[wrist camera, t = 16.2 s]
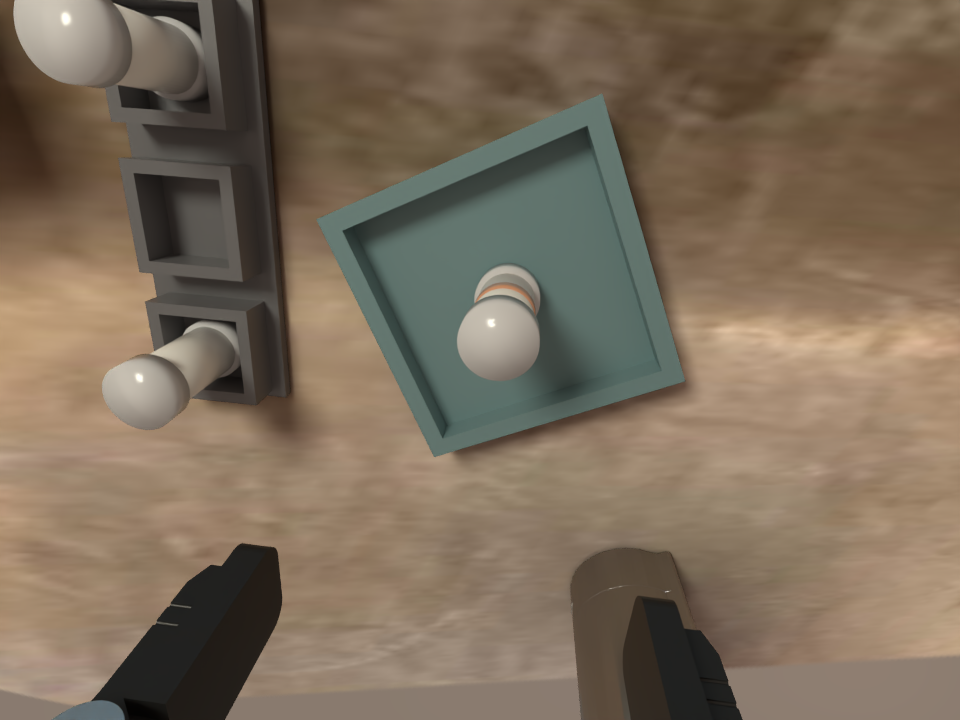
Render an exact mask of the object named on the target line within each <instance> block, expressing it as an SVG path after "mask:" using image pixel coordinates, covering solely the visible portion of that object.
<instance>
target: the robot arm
mask: <svg viewBox="0 0 960 720" xmlns="http://www.w3.org/2000/svg"><path fill="white" fill-rule="evenodd" d="M281 606H282V590H281V580H280V571H279V561H278V553H277V550H276V548H274V547H267V546H259V545H251V544H243V543H242V544H240V545H238V546H237V547H236V548H235V549H234V550H233V552H232V553H231V555H230V556H229V557H228V559H227V560H226V561H225V563H224V564H223V565H222V566H216V565H210V566H209V567H207V568H206V569H205V570H203V571H202V572H200V573H199V574H198V575H196V576H195V577H193V578H192V579H191V580H189V581H188V582H187V583H186V584H185V586H184V587H183V588H182V589H181V591H180V592H179V593H178V594H177V596H176V597H175V598H174V599H173V601H172V602H171V605H170V607H167V608H166V609H165V611H164V612H163V613H162V614H161V616H160V617H159V618H158V619H157V622H156V624H155V625H153V626H152V627H151V628H150V629H149V631H148V632H147V633H146V634H145V636H144V637H143V638H142V639H141V641H140V642H139V643H138V644H137V646H136V647H135V648H134V649H133V651H132V652H131V653H130V654H129V656H128V657H127V658H126V659H125V661H124V662H123V663H122V664H121V666H120V667H119V668H118V669H117V671H116V672H115V673H114V674H113V676H112V677H111V678H110V679H109V681H108V682H107V683H106V684H105V686H104V687H103V688H102V689H101V691H100V692H99V693H98V694H97V695H96V696H95V697H94V699H92V700H91V701H90V702H86V703H82V704H79V705H77V706H74V707H72V708H70V709H68V710H66V711H64V712H63V713H61V714H59V715H58V716H56V717H55V718H53V719H52V720H225V718H226V716H227V715H228V713H229V711H230V709H231V707H232V706H233V703H234V701H235V700H236V698H237V696H238V694H239V693H240V691H241V689H242V687H243V685H244V683H245V682H246V680H247V678H248V676H249V674H250V672H251V670H252V669H253V667H254V665H255V663H256V661H257V659H258V658H259V656H260V654H261V652H262V650H263V648H264V646H265V645H266V643H267V641H268V639H269V637H270V635H271V634H272V632H273V630H274V628H275V626H276V624H277V621H278V618H279V615H280V611H281ZM571 613H572V618H573V629H574V641H575V653H576V665H577V677H578V688H579V701H580V713H581V720H742V717H741V714H740V712H739V709H737V707H736V701H735V698H734V695H733V692H732V690H731V687H730V686H729V685H728V679H727V676H726V673H725V670H724V668H723V665H722V662H721V659H720V657H719V654H718V653H717V652H716V650H715V649H714V648H713V646H712V645H711V644H710V643H709V641H708V640H707V639H706V637H705V636H704V635H703V633H702V632H701V631H699V630H696V627H695V624H694V621H693V618H692V615H691V612H690V609H689V606H688V603H687V600H686V597H685V594H684V591H683V588H682V585H681V583H680V580H679V577H678V574H677V571H676V568H675V565H674V562H673V559H672V556H671V554H670V552H663V553H657V554H655V553H650V552H647V551H643V550H639V549H630V548H624V549H613V550H609V551H605V552H602V553H599V554H597V555H595V556H593V557H591V558H590V559H588V560H587V561H585V562H584V563H583V564H582V565H581V566H580V567H579V568H578V569H577V571H576V573H575V574H574V576H573V578H572V582H571Z"/></svg>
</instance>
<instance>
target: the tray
mask: <svg viewBox="0 0 960 720" xmlns="http://www.w3.org/2000/svg"><path fill="white" fill-rule="evenodd" d="M316 220H317V222H318V224H319V226H320V228H321V230H322V232H323V234H324V236H325V238H326V240H327V242H328V244H329V246H330V248H331V250H332V252H333V254H334V256H335V258H336V260H337V262H338V264H339V266H340V268H341V270H342V272H343V274H344V276H345V278H346V280H347V282H348V284H349V286H350V288H351V290H352V292H353V294H354V296H355V298H356V300H357V302H358V304H359V306H360V308H361V310H362V312H363V314H364V316H365V318H366V320H367V322H368V324H369V326H370V329H371V331H372V333H373V335H374V337H375V339H376V341H377V343H378V345H379V347H380V349H381V351H382V353H383V355H384V357H385V359H386V361H387V363H388V365H389V367H390V369H391V371H392V373H393V375H394V377H395V379H396V381H397V383H398V385H399V387H400V389H401V391H402V393H403V395H404V397H405V399H406V401H407V403H408V405H409V407H410V409H411V411H412V413H413V415H414V417H415V419H416V421H417V423H418V425H419V427H420V429H421V431H422V433H423V435H424V437H425V439H426V441H427V443H428V445H429V447H430V449H431V452H432V454H433V456H434V457H436V456H439V455H443V454H446V453H449V452H453V451H456V450H459V449H463V448H466V447H469V446H473V445H476V444H479V443H482V442H486V441H489V440H492V439H496V438H499V437H502V436H506V435H509V434H512V433H516V432H519V431H522V430H526V429H529V428H532V427H536V426H539V425H542V424H545V423H549V422H552V421H555V420H559V419H562V418H565V417H569V416H572V415H575V414H579V413H582V412H585V411H589V410H592V409H595V408H598V407H602V406H605V405H608V404H612V403H615V402H618V401H622V400H625V399H628V398H632V397H635V396H638V395H642V394H645V393H648V392H652V391H655V390H658V389H661V388H665V387H668V386H671V385H675V384H678V383H681V382H685V379H684V375H683V372H682V368H681V365H680V361H679V358H678V354H677V351H676V347H675V344H674V341H673V337H672V334H671V330H670V327H669V323H668V320H667V316H666V313H665V309H664V306H663V302H662V299H661V295H660V292H659V289H658V285H657V282H656V278H655V275H654V271H653V268H652V264H651V261H650V257H649V254H648V250H647V247H646V244H645V240H644V237H643V233H642V230H641V226H640V223H639V219H638V216H637V212H636V209H635V205H634V202H633V198H632V195H631V192H630V188H629V185H628V181H627V178H626V174H625V171H624V167H623V164H622V160H621V157H620V153H619V150H618V147H617V143H616V140H615V136H614V133H613V129H612V126H611V122H610V119H609V115H608V112H607V108H606V105H605V101H604V98H603V95H602V94H600V95H598V96H596V97H593V98H591V99H589V100H587V101H584V102H582V103H580V104H577V105H575V106H573V107H571V108H568V109H566V110H564V111H562V112H559V113H557V114H555V115H552V116H550V117H548V118H546V119H543V120H541V121H539V122H537V123H534V124H532V125H530V126H527V127H525V128H523V129H521V130H518V131H516V132H514V133H512V134H509V135H507V136H505V137H502V138H500V139H498V140H496V141H493V142H491V143H489V144H487V145H484V146H482V147H480V148H477V149H475V150H473V151H471V152H468V153H466V154H464V155H462V156H459V157H457V158H455V159H452V160H450V161H448V162H446V163H443V164H441V165H439V166H437V167H434V168H432V169H430V170H427V171H425V172H423V173H421V174H418V175H416V176H414V177H412V178H409V179H407V180H405V181H402V182H400V183H398V184H396V185H393V186H391V187H389V188H387V189H384V190H382V191H380V192H377V193H375V194H373V195H371V196H368V197H366V198H364V199H362V200H359V201H357V202H355V203H352V204H350V205H348V206H346V207H343V208H341V209H339V210H337V211H334V212H332V213H330V214H327V215H325V216H323V217H321V218H318V219H316ZM502 263H515V264H519V265H521V266H523V267H525V268H527V269H528V270H529V271H530V272H532V274H533V275H534V276H535V278H536V279H537V281H538V284H539V287H540V307H539V311H538V313H537V315H536V318H537V320H538V323H539V328H540V347H539V352H538V356H537V358H536V360H535V362H534V364H533V365H532V366H531V368H530V369H529V370H528V371H526V372H525V373H524V374H522V375H521V376H519V377H517V378H514V379H511V380H506V381H493V380H488V379H485V378H482V377H480V376H478V375H476V374H475V373H473V372H472V371H471V370H470V369H469V368H468V367H467V366H466V365H465V364H464V362H463V361H462V359H461V357H460V354H459V351H458V347H457V336H458V331H459V328H460V326H461V323H462V321H463V319H464V317H465V315H466V313H467V311H468V310H469V309H470V307H471V306H472V305H473V304H475V303H474V297H475V292H476V289H477V286H478V284H479V282H480V280H481V278H482V276H483V275H484V274H485V273H486V272H487V271H488V270H489V269H490V268H492V267H494V266H496V265H498V264H502Z"/></svg>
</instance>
